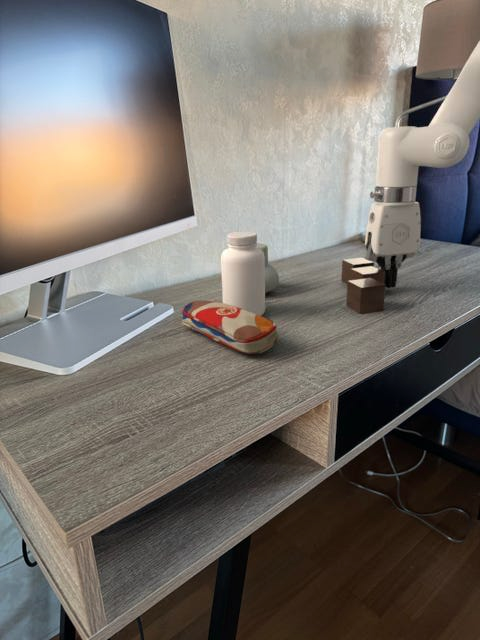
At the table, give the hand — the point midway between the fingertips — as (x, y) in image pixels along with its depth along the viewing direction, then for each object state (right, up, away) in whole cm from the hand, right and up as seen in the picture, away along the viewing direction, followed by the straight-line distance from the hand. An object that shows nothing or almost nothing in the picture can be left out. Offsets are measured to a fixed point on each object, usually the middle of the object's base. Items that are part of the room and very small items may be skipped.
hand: (387, 285), depth 93 cm
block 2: (-7, -5, -9) cm, 13 cm away
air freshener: (-28, -1, +3) cm, 28 cm away
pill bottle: (-30, -6, -9) cm, 32 cm away
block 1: (-5, +1, +6) cm, 8 cm away
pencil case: (-33, -10, -19) cm, 40 cm away
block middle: (-5, -2, -1) cm, 5 cm away
